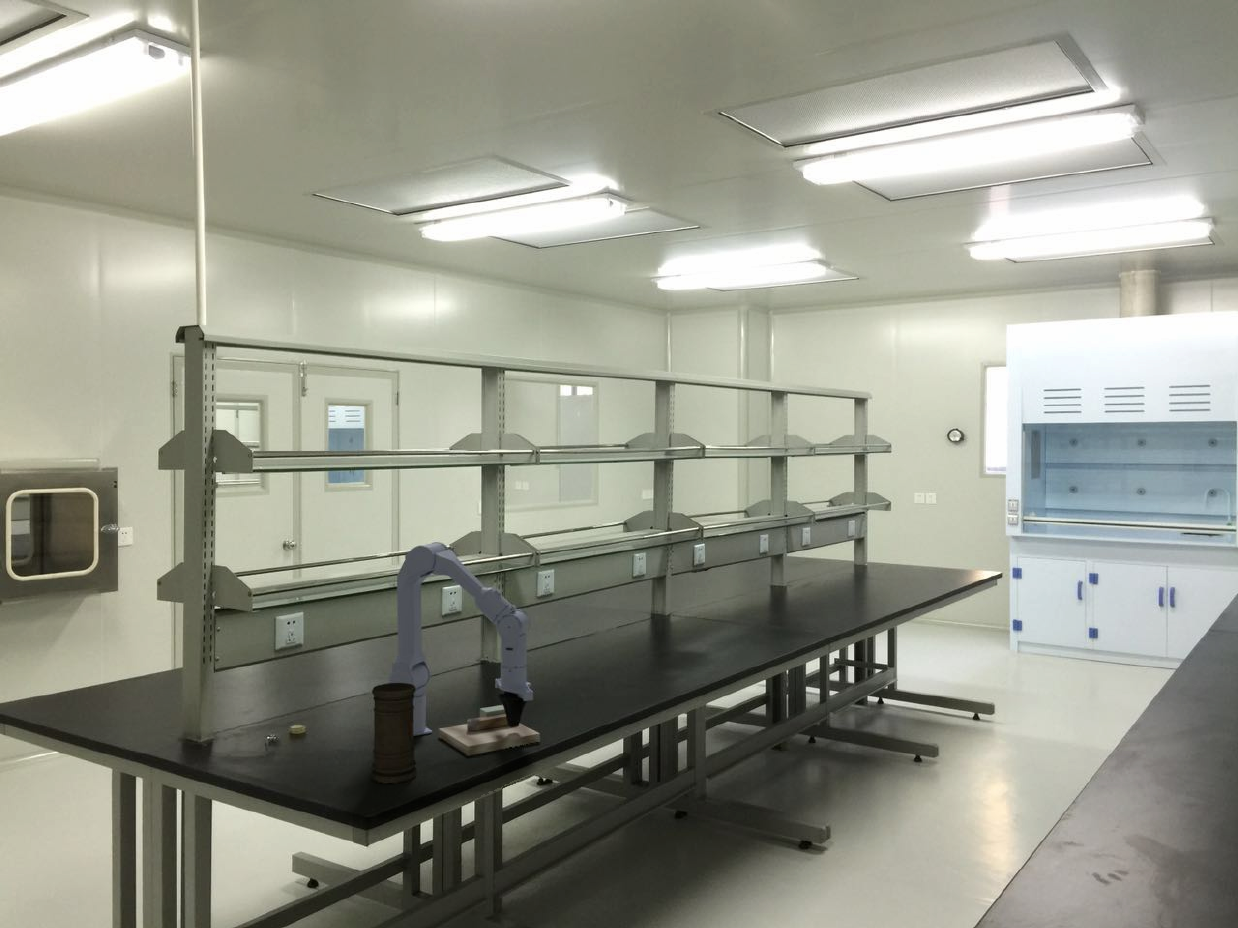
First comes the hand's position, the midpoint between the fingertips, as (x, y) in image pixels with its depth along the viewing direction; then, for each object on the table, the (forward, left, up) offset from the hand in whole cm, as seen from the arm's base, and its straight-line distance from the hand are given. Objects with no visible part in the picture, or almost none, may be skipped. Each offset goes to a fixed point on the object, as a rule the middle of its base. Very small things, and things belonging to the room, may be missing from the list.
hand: (513, 725), depth 223 cm
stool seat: (-4, +4, -3) cm, 7 cm away
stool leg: (-2, +6, -1) cm, 7 cm away
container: (-31, -8, -4) cm, 32 cm away
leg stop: (0, +9, -1) cm, 10 cm away
